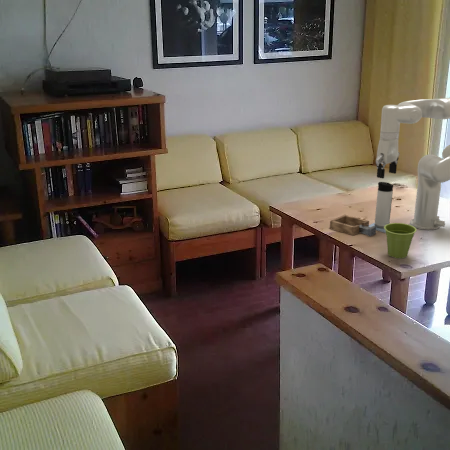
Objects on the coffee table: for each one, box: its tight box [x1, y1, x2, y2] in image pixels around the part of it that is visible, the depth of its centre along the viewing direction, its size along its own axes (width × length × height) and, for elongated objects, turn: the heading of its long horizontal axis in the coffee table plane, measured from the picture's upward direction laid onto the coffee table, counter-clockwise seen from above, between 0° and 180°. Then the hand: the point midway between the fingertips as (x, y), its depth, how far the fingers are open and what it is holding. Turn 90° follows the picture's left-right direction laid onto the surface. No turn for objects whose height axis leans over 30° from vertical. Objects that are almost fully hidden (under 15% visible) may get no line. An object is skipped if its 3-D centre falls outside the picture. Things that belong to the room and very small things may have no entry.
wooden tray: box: [329, 214, 370, 236], centre depth 244 cm, size 12×11×4 cm
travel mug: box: [374, 181, 394, 229], centre depth 241 cm, size 6×7×20 cm
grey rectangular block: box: [358, 225, 377, 237], centre depth 238 cm, size 7×4×3 cm, turn 45°
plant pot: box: [384, 222, 417, 259], centre depth 214 cm, size 12×12×11 cm
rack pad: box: [369, 222, 386, 234], centre depth 245 cm, size 10×10×1 cm
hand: (386, 175), depth 237 cm, fingers open, 9 cm apart
